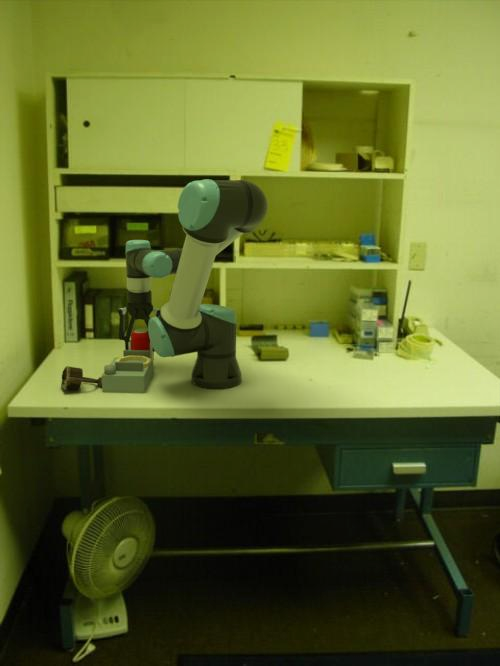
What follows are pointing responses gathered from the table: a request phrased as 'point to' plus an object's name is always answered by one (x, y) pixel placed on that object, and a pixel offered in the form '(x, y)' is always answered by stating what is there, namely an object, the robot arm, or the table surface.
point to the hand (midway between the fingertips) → (141, 360)
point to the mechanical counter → (76, 378)
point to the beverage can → (140, 340)
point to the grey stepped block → (128, 372)
